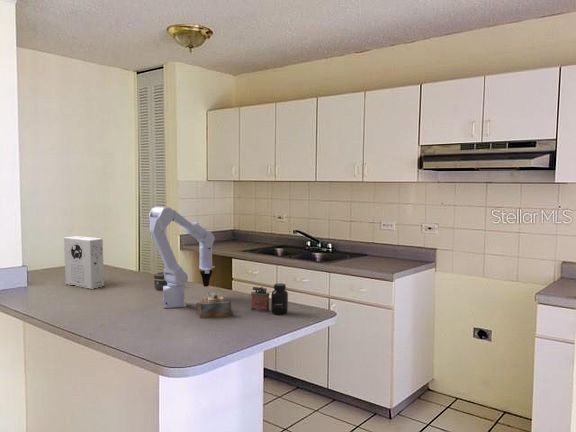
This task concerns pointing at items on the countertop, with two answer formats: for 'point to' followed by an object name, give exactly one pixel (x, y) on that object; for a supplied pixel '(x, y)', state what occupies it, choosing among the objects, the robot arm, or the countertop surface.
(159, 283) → the jar
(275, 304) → the supplement bottle
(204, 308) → the press bed
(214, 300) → the block
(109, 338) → the countertop surface
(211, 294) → the block
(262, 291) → the lighter
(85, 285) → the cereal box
